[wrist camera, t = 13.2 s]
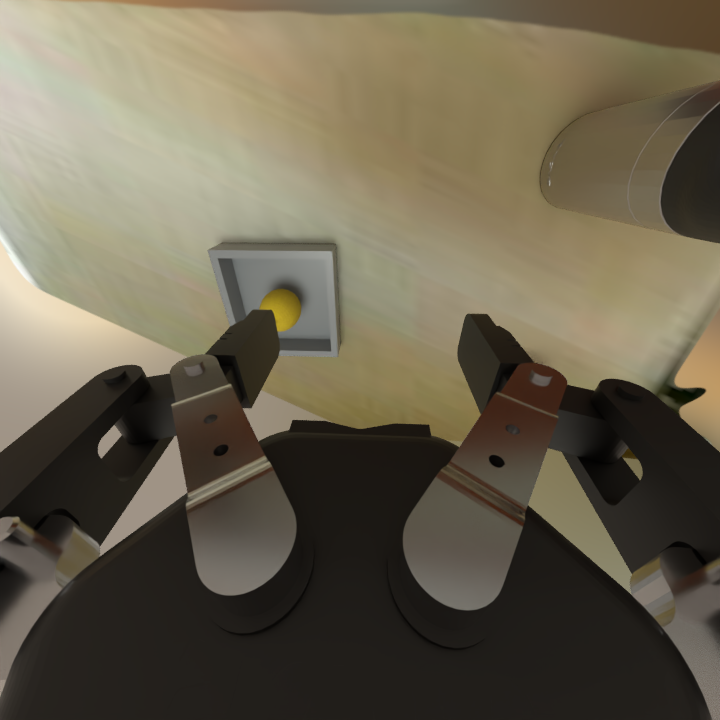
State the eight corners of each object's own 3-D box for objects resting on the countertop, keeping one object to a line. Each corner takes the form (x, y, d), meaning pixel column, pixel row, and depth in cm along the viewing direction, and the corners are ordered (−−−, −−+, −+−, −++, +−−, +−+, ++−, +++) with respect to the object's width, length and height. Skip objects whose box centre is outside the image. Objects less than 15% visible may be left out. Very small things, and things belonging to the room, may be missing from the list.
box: (335, 244, 39) (332, 251, 35) (340, 343, 48) (337, 357, 44) (221, 243, 39) (207, 250, 36) (247, 341, 48) (238, 354, 45)
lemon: (290, 321, 45) (275, 348, 39) (263, 297, 43) (242, 320, 37) (313, 300, 43) (302, 325, 36) (285, 273, 41) (267, 294, 34)
